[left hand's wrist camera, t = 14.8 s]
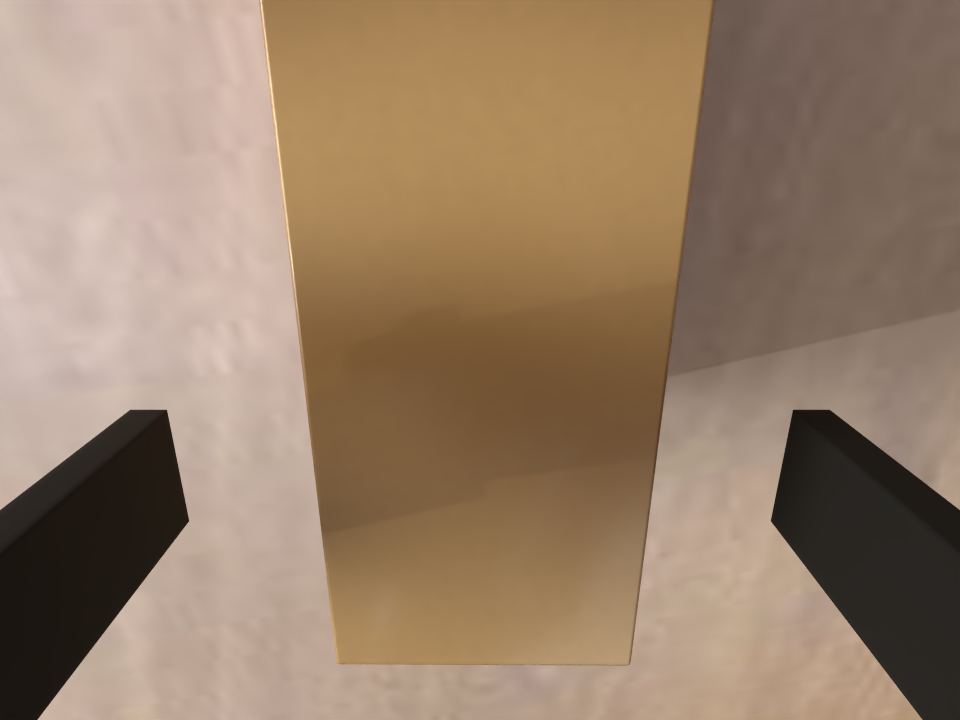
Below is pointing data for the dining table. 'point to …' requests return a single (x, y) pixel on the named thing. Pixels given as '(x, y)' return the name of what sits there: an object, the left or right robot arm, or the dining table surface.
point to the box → (485, 308)
